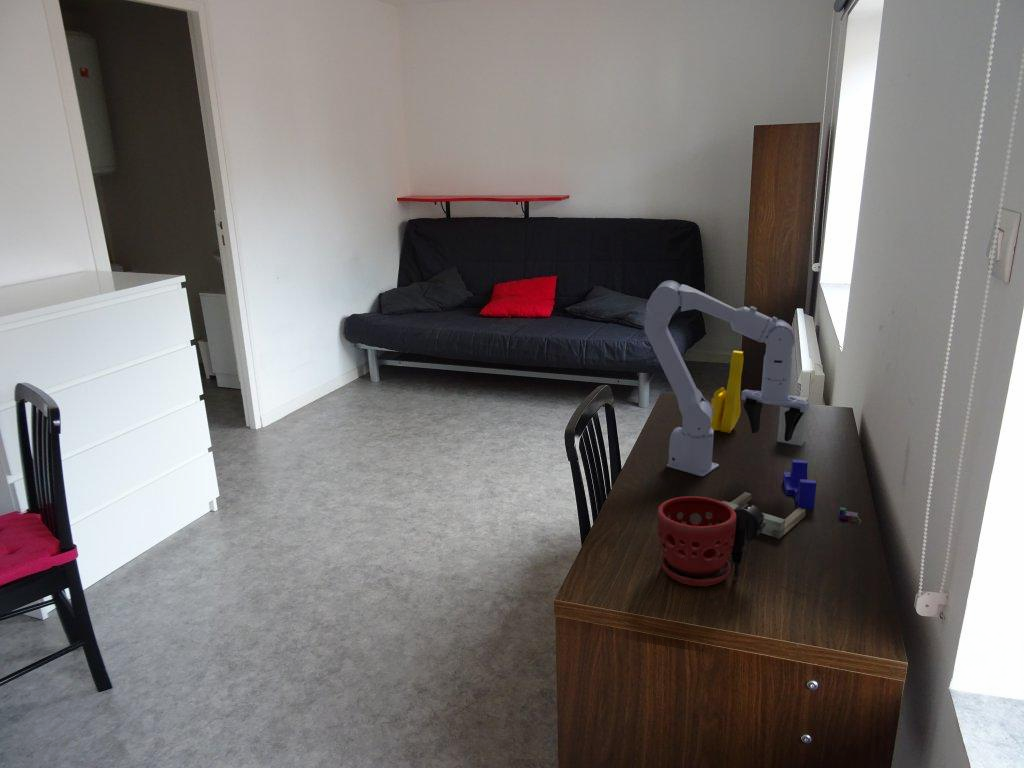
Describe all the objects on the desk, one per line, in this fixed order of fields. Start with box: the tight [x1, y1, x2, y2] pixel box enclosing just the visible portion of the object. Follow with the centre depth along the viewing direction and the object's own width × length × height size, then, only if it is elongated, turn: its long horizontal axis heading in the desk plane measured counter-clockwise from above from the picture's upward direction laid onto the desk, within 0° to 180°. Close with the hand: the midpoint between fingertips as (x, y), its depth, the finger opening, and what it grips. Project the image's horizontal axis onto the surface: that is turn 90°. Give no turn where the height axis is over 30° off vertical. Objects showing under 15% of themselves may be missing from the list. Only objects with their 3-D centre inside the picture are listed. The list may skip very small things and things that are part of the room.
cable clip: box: [782, 459, 817, 510], centre depth 152 cm, size 12×4×6 cm, turn 168°
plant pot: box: [656, 495, 736, 587], centre depth 124 cm, size 13×13×12 cm
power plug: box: [730, 503, 766, 578], centre depth 124 cm, size 6×8×12 cm
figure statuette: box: [710, 350, 745, 434], centre depth 188 cm, size 18×8×22 cm, turn 155°
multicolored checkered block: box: [838, 507, 862, 525], centre depth 142 cm, size 4×3×2 cm, turn 66°
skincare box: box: [777, 394, 810, 447], centre depth 180 cm, size 6×4×12 cm
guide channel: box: [721, 491, 807, 539], centre depth 144 cm, size 13×12×3 cm
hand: (771, 435), depth 160 cm, fingers open, 7 cm apart
